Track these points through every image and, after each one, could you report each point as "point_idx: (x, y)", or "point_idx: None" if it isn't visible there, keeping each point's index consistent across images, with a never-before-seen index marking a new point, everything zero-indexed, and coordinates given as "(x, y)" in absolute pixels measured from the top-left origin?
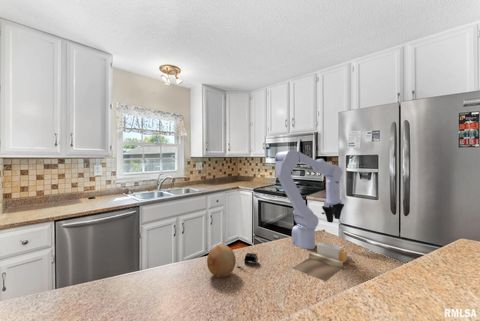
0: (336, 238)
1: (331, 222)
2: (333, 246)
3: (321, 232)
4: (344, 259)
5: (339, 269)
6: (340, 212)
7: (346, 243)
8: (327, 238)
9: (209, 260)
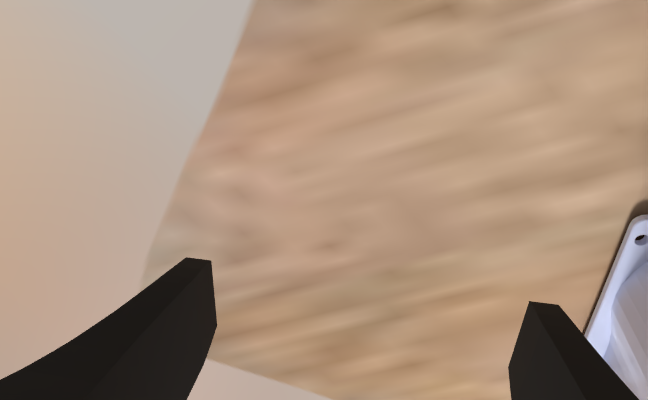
0: (218, 162)
1: (564, 314)
2: None
3: None
4: None
5: None
6: (123, 346)
7: (299, 26)
8: (285, 229)
9: None
